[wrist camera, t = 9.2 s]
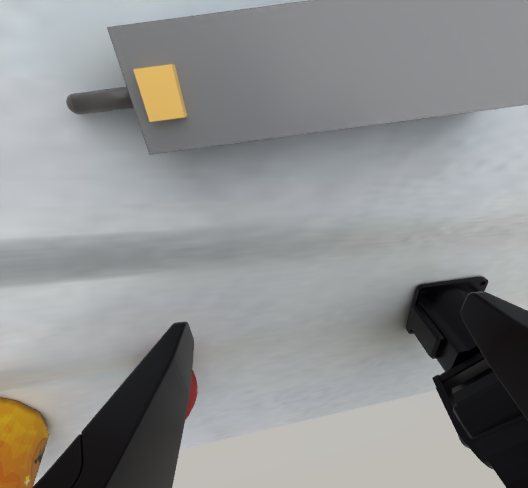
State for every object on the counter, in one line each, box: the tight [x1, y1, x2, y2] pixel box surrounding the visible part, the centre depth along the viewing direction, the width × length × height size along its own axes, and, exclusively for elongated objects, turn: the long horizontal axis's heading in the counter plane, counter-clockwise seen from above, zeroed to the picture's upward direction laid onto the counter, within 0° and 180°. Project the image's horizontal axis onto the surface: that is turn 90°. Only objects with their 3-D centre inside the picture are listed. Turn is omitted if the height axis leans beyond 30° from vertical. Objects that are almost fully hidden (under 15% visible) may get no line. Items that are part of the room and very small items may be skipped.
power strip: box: [66, 0, 528, 154], centre depth 13 cm, size 24×5×5 cm, turn 96°
